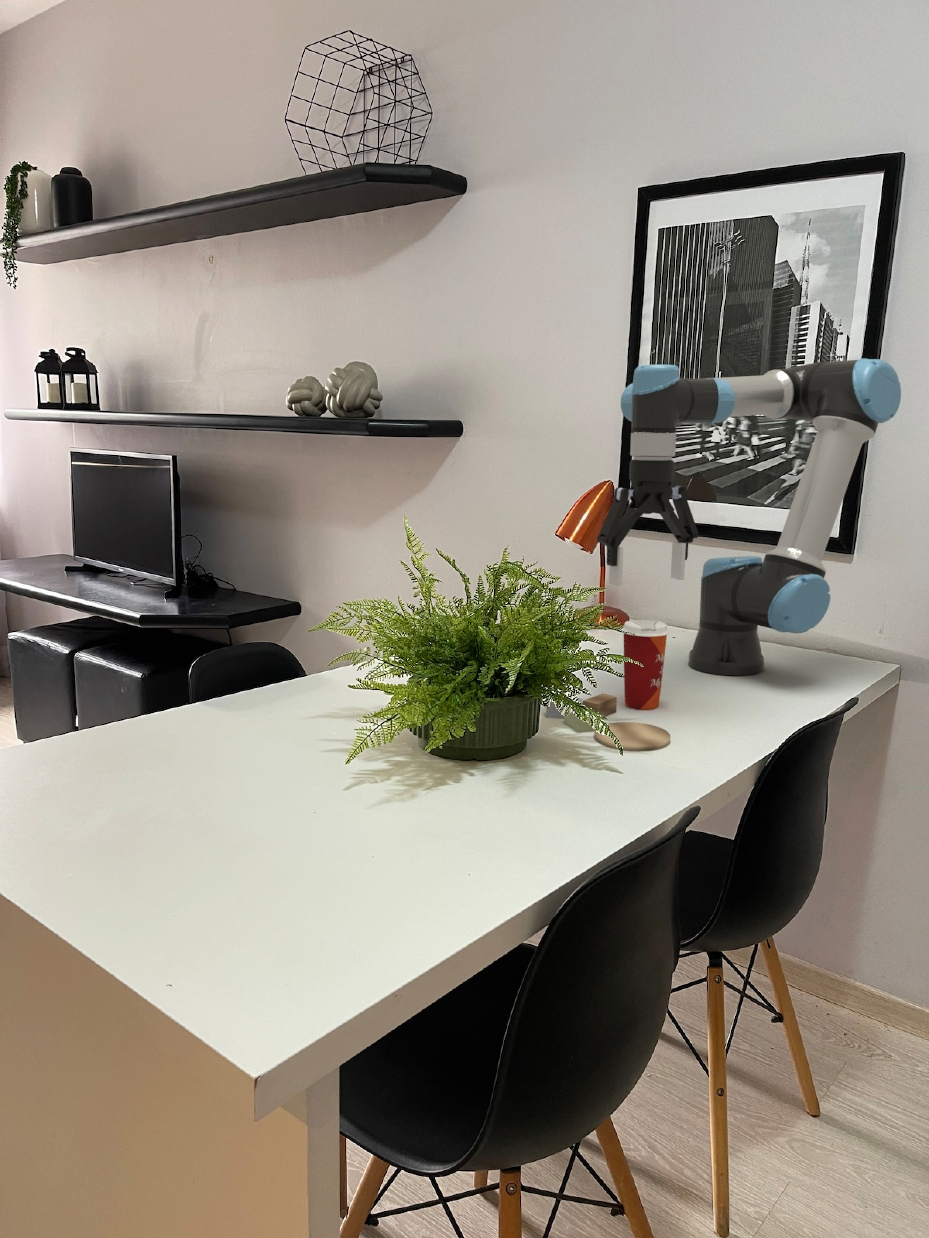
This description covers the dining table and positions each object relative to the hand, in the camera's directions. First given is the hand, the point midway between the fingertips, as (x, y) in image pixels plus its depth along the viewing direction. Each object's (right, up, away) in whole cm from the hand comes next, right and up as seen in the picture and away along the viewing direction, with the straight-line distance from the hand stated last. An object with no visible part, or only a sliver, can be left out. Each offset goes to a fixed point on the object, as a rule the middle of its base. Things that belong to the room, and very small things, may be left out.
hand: (646, 581), depth 165 cm
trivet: (-5, -26, -13) cm, 29 cm away
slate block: (-15, -23, -2) cm, 28 cm away
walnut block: (-8, -23, -1) cm, 25 cm away
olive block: (-13, -25, -7) cm, 29 cm away
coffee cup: (0, -22, +5) cm, 23 cm away
